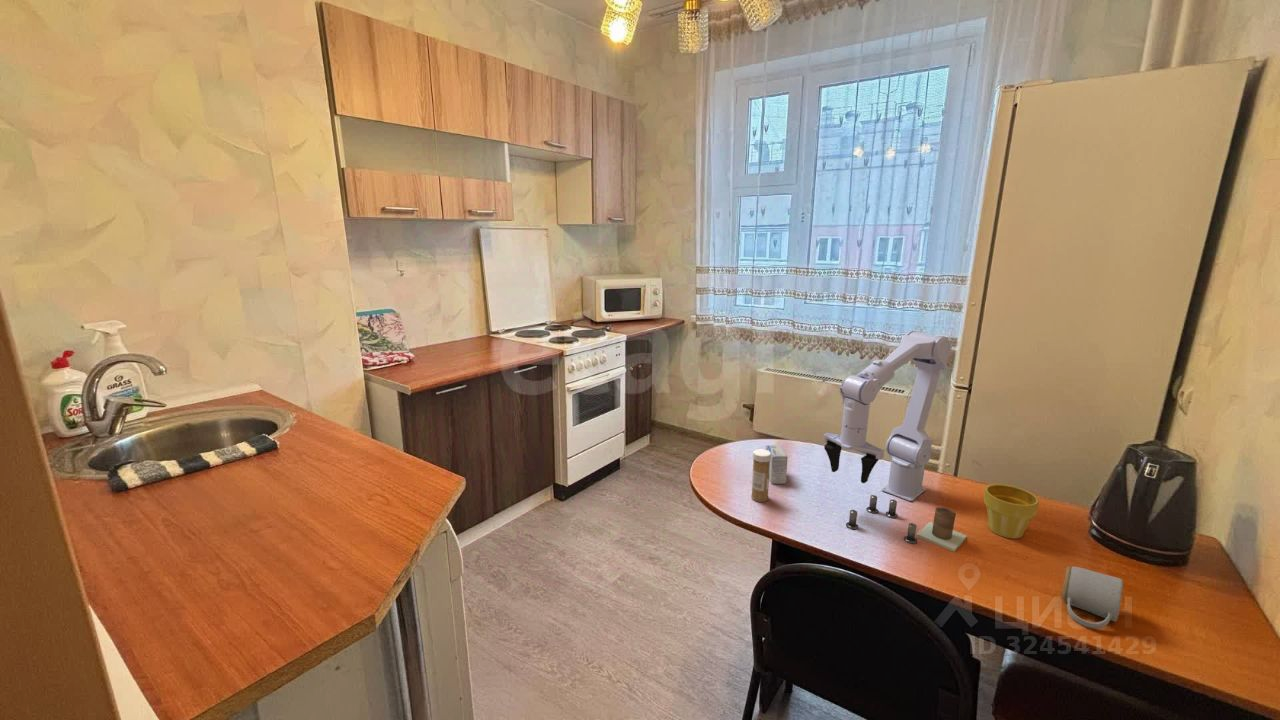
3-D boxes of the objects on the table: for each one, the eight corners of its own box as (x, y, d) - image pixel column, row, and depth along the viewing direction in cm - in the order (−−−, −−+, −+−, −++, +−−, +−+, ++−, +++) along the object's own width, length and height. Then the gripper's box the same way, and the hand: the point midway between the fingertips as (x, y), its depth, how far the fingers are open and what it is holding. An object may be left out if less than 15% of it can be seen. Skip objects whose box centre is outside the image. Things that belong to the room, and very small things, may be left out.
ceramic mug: (1061, 587, 102) (1069, 554, 100) (1116, 607, 97) (1125, 572, 95) (1056, 617, 94) (1064, 582, 92) (1116, 640, 89) (1126, 604, 87)
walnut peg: (935, 527, 122) (939, 505, 120) (954, 535, 119) (958, 512, 117) (928, 534, 119) (932, 511, 117) (948, 542, 116) (952, 518, 114)
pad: (929, 523, 124) (930, 521, 124) (966, 537, 119) (966, 535, 118) (916, 536, 119) (916, 534, 119) (954, 551, 113) (954, 549, 113)
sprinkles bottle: (771, 499, 136) (774, 453, 133) (759, 504, 134) (762, 457, 130) (759, 492, 140) (761, 447, 136) (747, 496, 137) (749, 451, 134)
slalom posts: (872, 504, 133) (873, 490, 132) (931, 528, 122) (934, 513, 121) (843, 526, 124) (845, 511, 123) (905, 553, 113) (908, 537, 112)
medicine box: (786, 484, 144) (788, 456, 142) (770, 484, 144) (772, 456, 142) (779, 471, 152) (781, 444, 149) (764, 471, 152) (765, 444, 149)
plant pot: (968, 520, 126) (974, 484, 123) (1007, 517, 127) (1014, 482, 124) (1001, 545, 116) (1009, 506, 113) (1043, 542, 117) (1051, 504, 114)
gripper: (818, 420, 126) (814, 470, 129) (876, 438, 115) (870, 492, 119) (833, 414, 130) (828, 462, 134) (890, 430, 120) (884, 482, 123)
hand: (849, 476), depth 126 cm, fingers open, 7 cm apart
